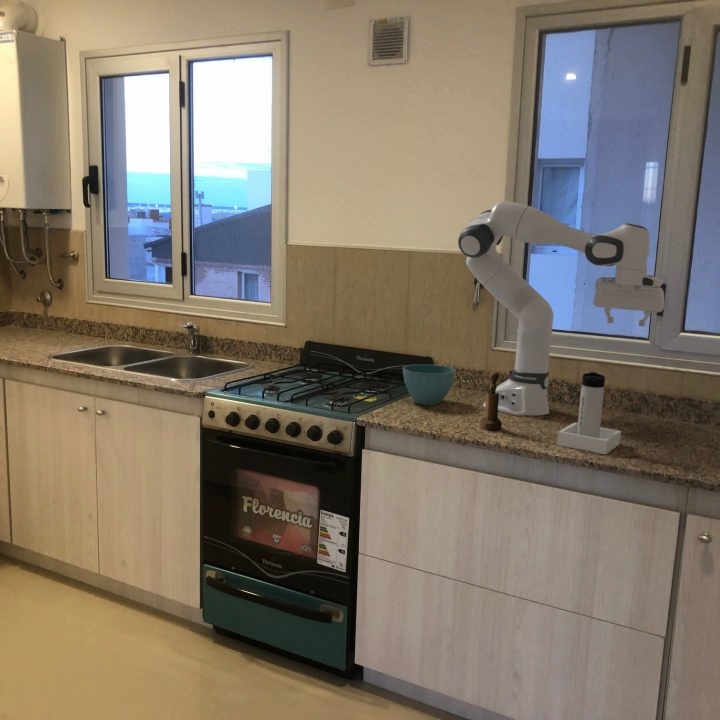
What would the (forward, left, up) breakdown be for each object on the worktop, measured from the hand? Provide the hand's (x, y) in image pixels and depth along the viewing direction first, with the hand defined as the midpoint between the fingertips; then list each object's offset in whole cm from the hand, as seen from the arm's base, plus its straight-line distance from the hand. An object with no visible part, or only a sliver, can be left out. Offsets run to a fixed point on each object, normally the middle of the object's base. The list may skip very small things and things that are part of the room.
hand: (625, 324), depth 225 cm
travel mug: (-2, -19, -33) cm, 39 cm away
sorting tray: (-2, -19, -34) cm, 39 cm away
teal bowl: (-64, -6, -34) cm, 73 cm away
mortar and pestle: (-32, -22, -34) cm, 52 cm away
